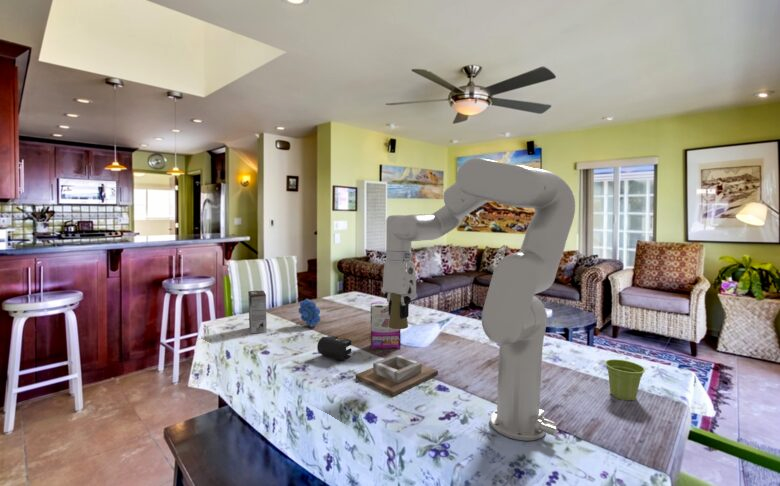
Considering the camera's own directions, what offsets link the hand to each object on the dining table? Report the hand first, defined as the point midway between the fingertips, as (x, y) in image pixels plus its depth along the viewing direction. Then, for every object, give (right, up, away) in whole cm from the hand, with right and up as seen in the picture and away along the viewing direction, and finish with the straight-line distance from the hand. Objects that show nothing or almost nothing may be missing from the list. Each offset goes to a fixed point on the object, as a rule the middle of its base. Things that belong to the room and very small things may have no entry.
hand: (398, 315), depth 116 cm
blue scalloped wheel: (-39, -15, +52) cm, 67 cm away
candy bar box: (-4, -17, +28) cm, 33 cm away
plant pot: (+62, -21, -10) cm, 66 cm away
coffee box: (-59, -15, +47) cm, 77 cm away
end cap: (-22, -18, +17) cm, 33 cm away
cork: (0, -3, 0) cm, 3 cm away
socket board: (0, -19, +1) cm, 19 cm away
